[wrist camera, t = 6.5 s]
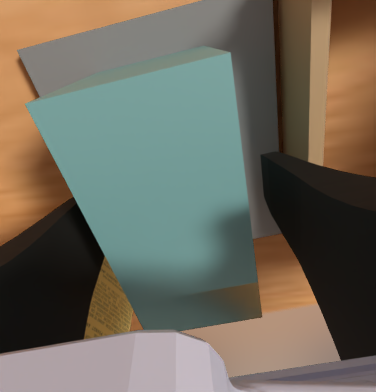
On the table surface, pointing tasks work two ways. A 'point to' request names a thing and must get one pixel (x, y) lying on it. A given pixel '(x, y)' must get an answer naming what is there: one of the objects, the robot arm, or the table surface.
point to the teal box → (161, 184)
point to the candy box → (108, 306)
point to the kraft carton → (304, 76)
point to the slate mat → (176, 42)
